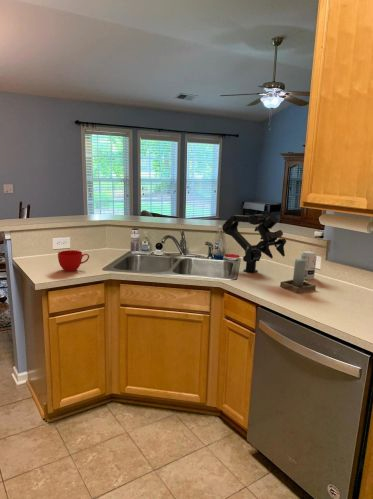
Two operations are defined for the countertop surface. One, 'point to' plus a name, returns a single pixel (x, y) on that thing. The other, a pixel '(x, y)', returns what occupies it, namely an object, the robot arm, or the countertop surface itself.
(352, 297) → the countertop surface
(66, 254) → the ceramic cup
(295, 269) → the slate part
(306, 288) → the walnut tray
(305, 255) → the supplement can
